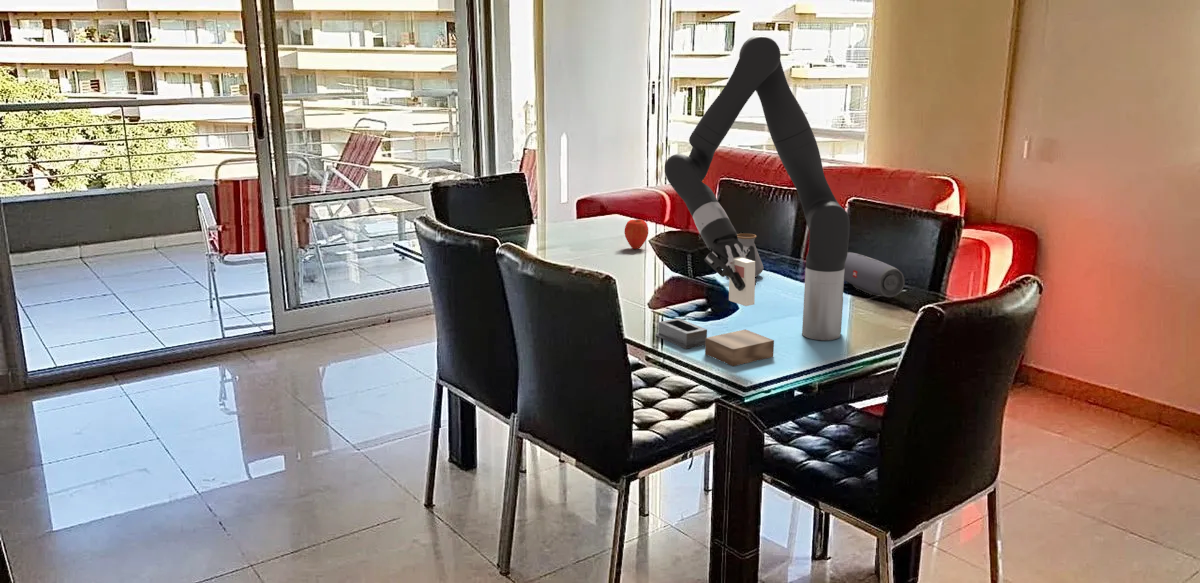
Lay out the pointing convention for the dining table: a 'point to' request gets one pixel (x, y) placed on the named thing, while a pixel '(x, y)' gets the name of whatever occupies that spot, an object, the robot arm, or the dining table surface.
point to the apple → (636, 233)
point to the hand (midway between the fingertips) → (747, 287)
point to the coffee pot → (749, 241)
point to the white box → (748, 276)
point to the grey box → (682, 333)
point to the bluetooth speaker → (873, 275)
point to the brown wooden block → (739, 347)
